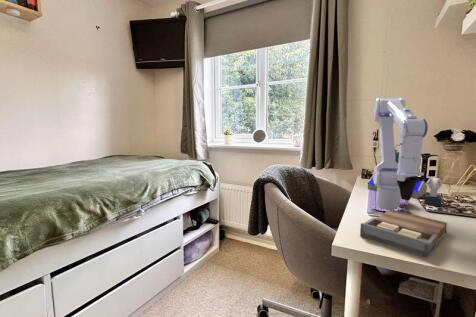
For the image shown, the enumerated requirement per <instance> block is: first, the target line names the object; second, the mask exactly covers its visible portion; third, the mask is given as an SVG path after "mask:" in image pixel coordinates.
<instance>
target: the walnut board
mask: <svg viewBox="0 0 476 317" xmlns="http://www.w3.org/2000/svg"><path fill="white" fill-rule="evenodd" d="M382 222H385V223H389V224H392V225H396V226H399V231H400V230H402V229H407V230H410V231H414V232H418V233H421V238H425V239H428V240H429V239H430V238H431V237H432V236H433V234H435V235H437V243H436V245H437V244H438V242H440V240H441V239H442V237H444V235H446V233H447V229H448V228H447V227H448V222H446V221H441V220H439V219H438V220H437V219H433V218H429V217H424V216H419V215H416V214H413V213H412V214H411V213H407V212H404V211H400V210H399V211H395V210H389V211H387V212H383V214H381V215H380V216H378V217H376V220H375V224H376V225H379V224H380V223H382Z"/></svg>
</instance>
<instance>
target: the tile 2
mask: <svg viewBox="0 0 476 317" xmlns="http://www.w3.org/2000/svg"><path fill="white" fill-rule="evenodd" d="M398 233H399V234H402V235H406V236H409V237H413V238H416V239H420V240H421V233H418V232H414V231H410V230H407V229H402V230H400V231H399V232H398Z"/></svg>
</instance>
